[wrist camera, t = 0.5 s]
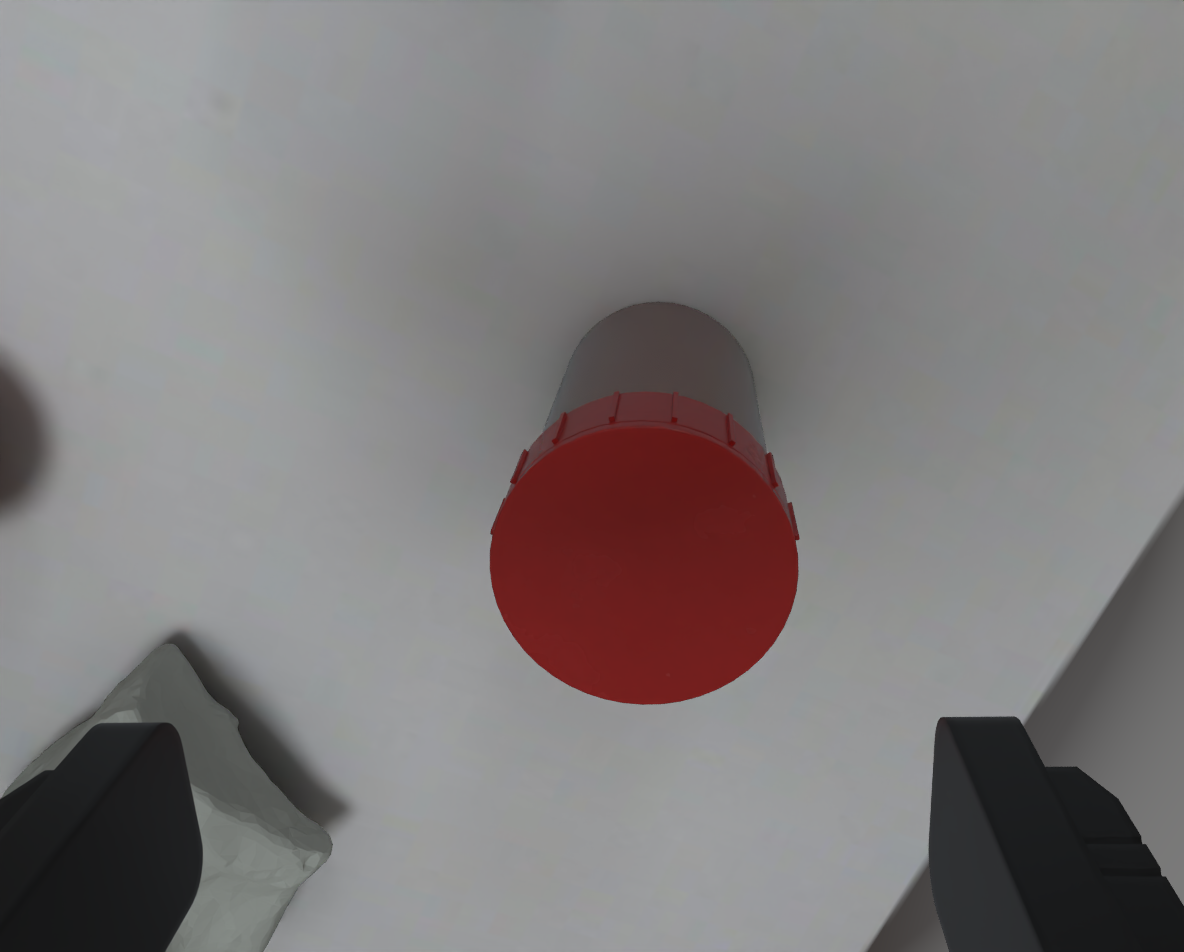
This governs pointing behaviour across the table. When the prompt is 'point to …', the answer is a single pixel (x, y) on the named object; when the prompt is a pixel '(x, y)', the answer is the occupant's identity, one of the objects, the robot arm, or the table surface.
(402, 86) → the table surface
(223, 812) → the decorative stone
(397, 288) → the table surface
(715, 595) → the lid
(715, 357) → the jar
